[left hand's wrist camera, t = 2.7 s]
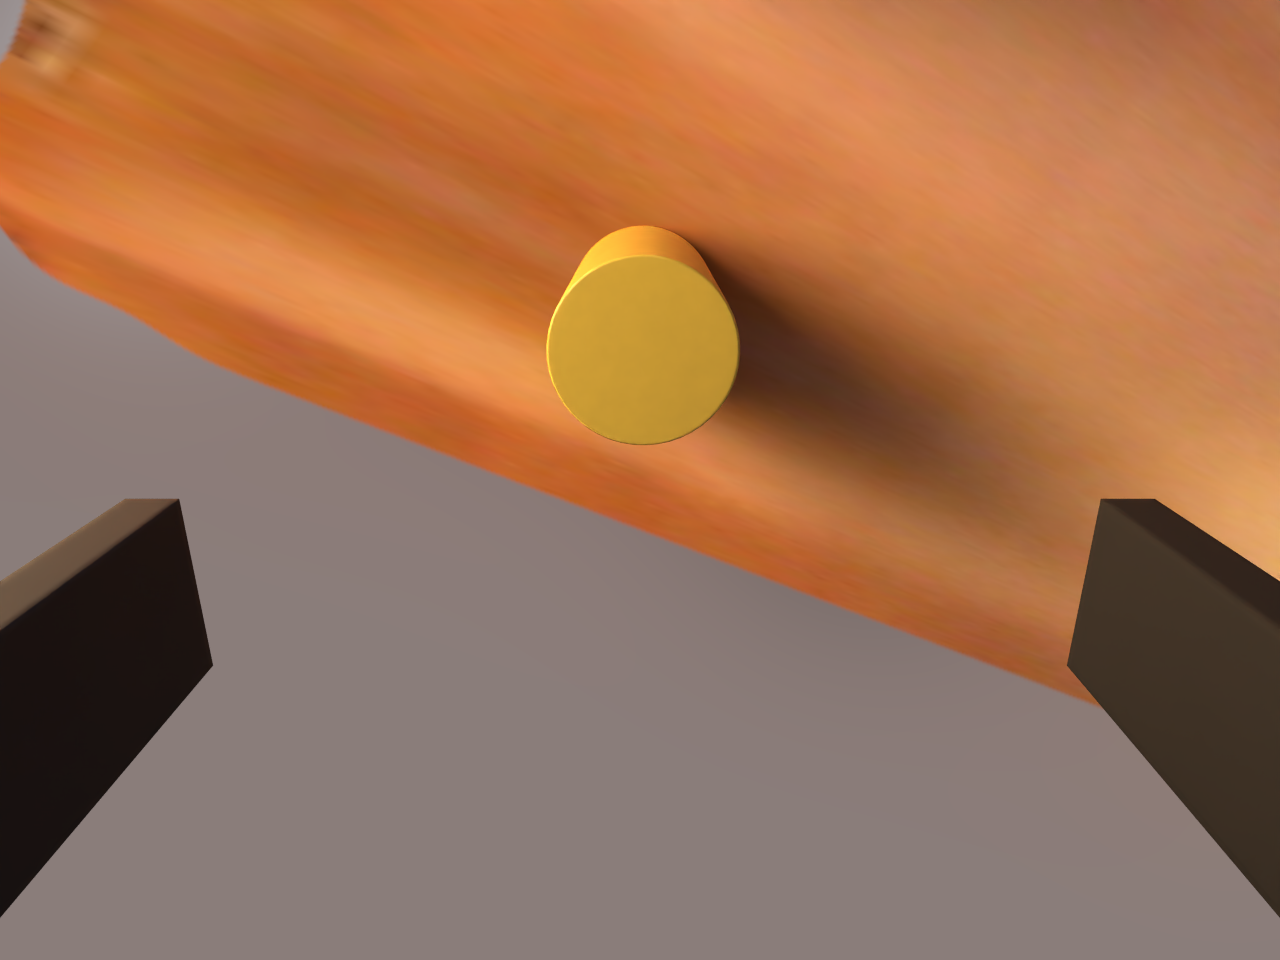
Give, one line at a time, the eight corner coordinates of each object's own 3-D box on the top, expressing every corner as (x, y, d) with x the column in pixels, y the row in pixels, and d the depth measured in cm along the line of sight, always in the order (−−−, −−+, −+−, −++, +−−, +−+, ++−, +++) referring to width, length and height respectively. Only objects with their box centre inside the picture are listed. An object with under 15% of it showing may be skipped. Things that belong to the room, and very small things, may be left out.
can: (620, 392, 36) (612, 478, 27) (545, 274, 35) (508, 321, 25) (738, 322, 35) (774, 385, 26) (667, 197, 34) (678, 214, 24)
